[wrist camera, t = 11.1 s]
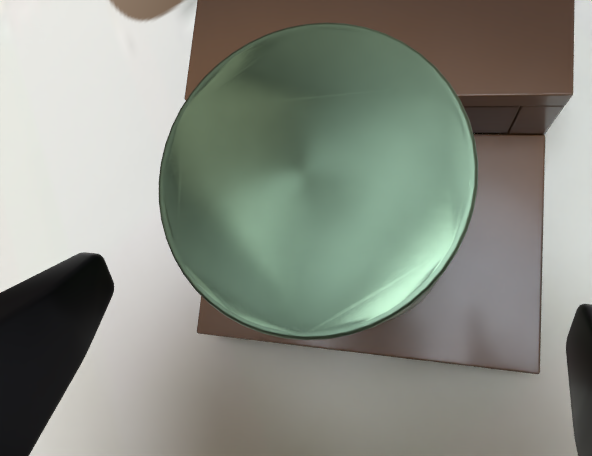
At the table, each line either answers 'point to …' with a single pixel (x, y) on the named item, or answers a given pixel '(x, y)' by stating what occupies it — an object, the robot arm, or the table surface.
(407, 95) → the tea tin
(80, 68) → the table surface
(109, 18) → the table surface
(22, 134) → the table surface
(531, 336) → the brown stand
